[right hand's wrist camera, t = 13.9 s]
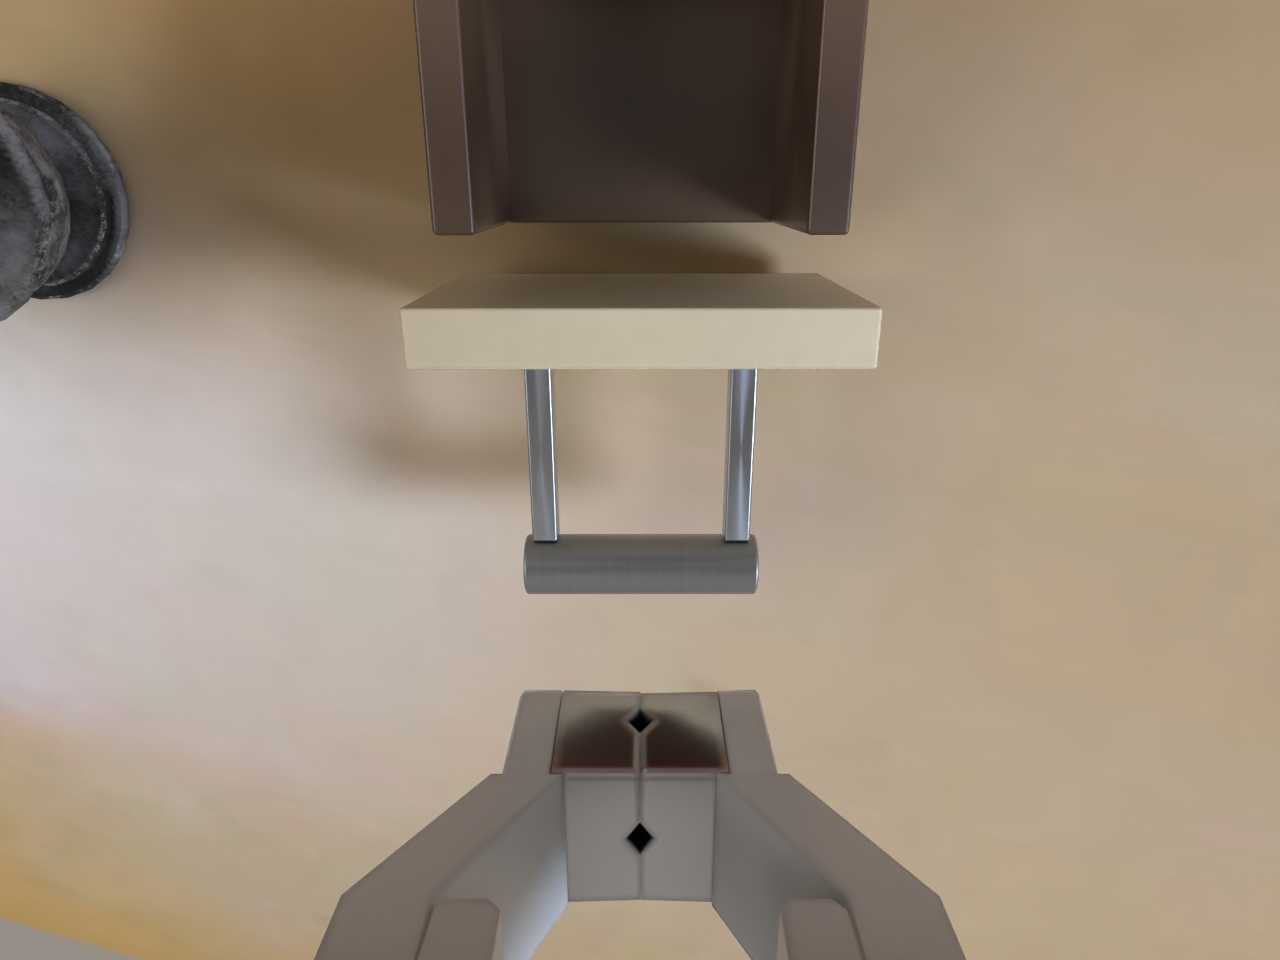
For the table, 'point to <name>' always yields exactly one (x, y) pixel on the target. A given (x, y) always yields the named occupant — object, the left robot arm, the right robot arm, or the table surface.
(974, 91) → the table surface
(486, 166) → the drawer
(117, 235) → the chess piece
